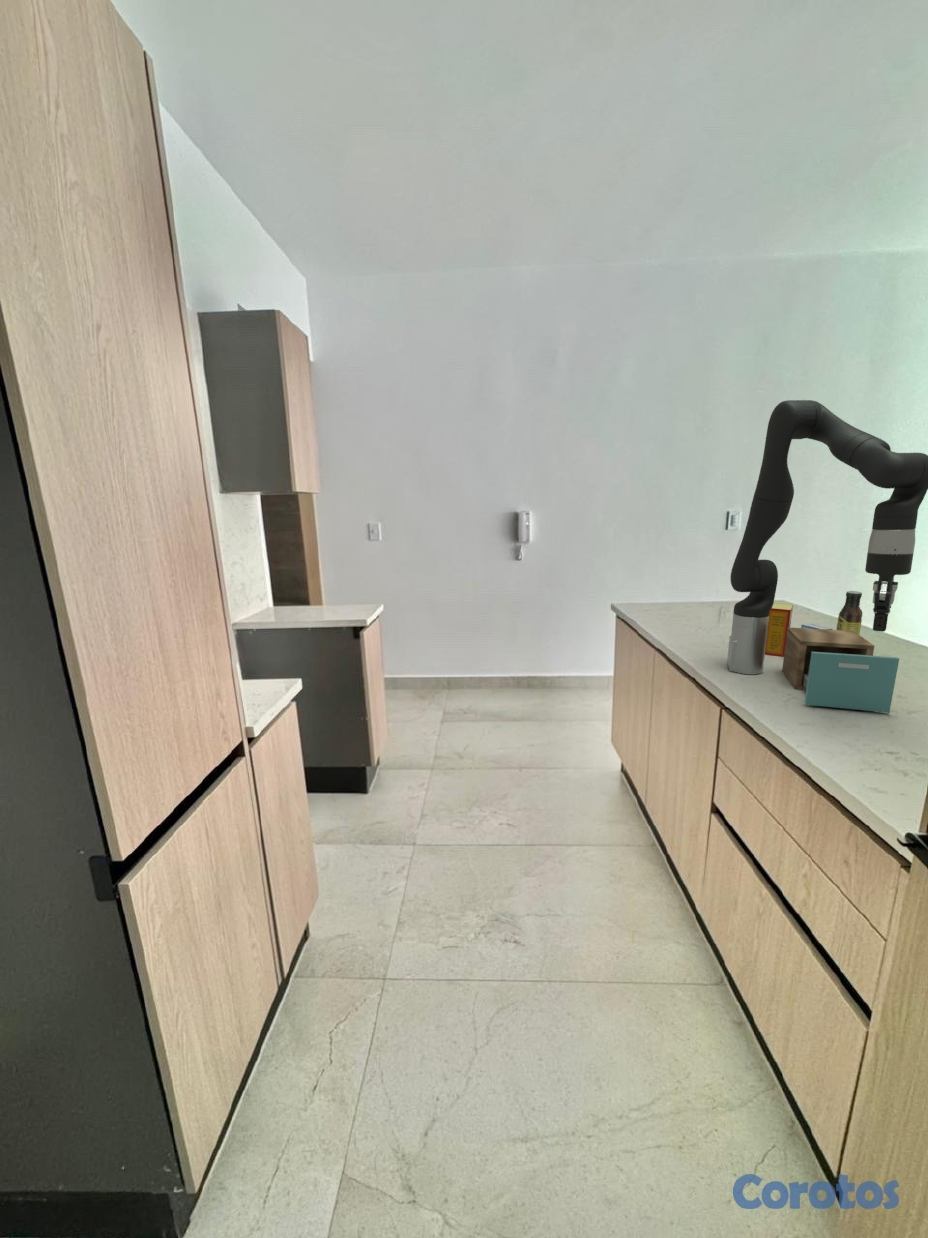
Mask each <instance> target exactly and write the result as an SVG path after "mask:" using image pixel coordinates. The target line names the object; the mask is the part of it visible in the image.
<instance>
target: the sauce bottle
mask: <svg viewBox="0 0 928 1238" xmlns="http://www.w3.org/2000/svg"><path fill="white" fill-rule="evenodd" d="M862 595H863V593H862V591H858V590H849V591H846V593H845V596H846V597H845V603H844V605H843V607H842V609H841V610H840V612H839V613H838V617H837V623H836V629H835V630H846V631H854V632H856V633H857V634H858V635H861V634H860V632H861V627H862V621H863V620H862V619H863V611H862V609H861V607H860V605H861V604H860V603H861V598H862Z"/></svg>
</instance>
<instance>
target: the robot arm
mask: <svg viewBox="0 0 928 1238" xmlns="http://www.w3.org/2000/svg"><path fill="white" fill-rule="evenodd" d="M803 439H809V440H813V441H816V442H820V443H823V444H824V445H826V446H827V448H828V450H829V451H830V453H831V455H832V456H834V458H836V459H837V460H839V461H840V462H841V463H843V464H845V465H847V466H849V467H851V468H853V469H855V470H856V471H858V472H859V473H860V475H861V476H863V478H864V479H865V480H866V481H867V482H868V483H870V484H871V485H873V486H876V487H878V488H882V489H893V491H892V493H891V496H890V497H889V499H887V500H885V501H881V502H879V503H878V504H877V505H876V506H875V508H874V513H873V519H872V526H871V533H870V536H869V539H868V546H867V554H866V563H865V568H864V569H865V573H868V574H871V575H872V574H873V575H878V580H874V581H873V584H872V585H873V586H872V591H873V597H872V603H873V604H874V605H873V608H872V611H873V614H874V616H873V617H874V618H873V625H872V630H873V631H875V632H886V631H887V625H888V620H889V618H888V617H889V614H890V613H891V609H892V605H893V604H894V601H895V597H896V591H897V590H898V586H899V581H895V576H905V575H909V574H911V572H912V568H913V567H912V566H913V559H914V552H915V546H916V528H917V521H918V515H919V514H918V512H919V509H920V506H921V504H922V502H923V501H924V500H925V499H924V498H925V496H926V494H927V492H928V454H926V453H924V452H895V451H892V449H891V446H890V444H889V443H888V442H886V441H885V440H883V439H881V437H880V438H879V437H877V436H875V435H872V434H871V433H869V432H867V431H863V430H861V429H859V428H857V427H855V426H853V425H851V424H849V423H848V422H847V421H845V420H843V419H842V418H840V417H839V416H838V415H836V414H835V413H834V412H832V411H831V410H830V409H828V408H827V407H826V406H825V405H824V404H822V403H820V402H818V401H816V400H810V399H809V400H807V399H806V400H805V399H799V400H797V399H792V400H791V399H790V400H783V401H781V402H778V404H777V405H776V406H775V407H774V408H773V410H772V412H771V414H770V417H769V421H768V423H767V429H766V435H765V443H764V449H763V455H762V462H761V465H760V466H761V467H760V471H759V475H758V478H757V479H758V480H757V483H756V487H755V491H754V494H753V497H752V501H751V505H750V508H749V514H748V519H747V522H746V526H745V530H744V533H743V536H742V540H741V542H740V545H739V548H738V550H737V553H736V556H735V559H734V562H733V565H732V568H731V572H730V584H731V587H732V589H733V590H734V591H735V592H737V593H748V595H747V596H746V597H745V598H743V599H742V600H740V601H737V602H736V603H734V605H733V613H732V622H731V624H732V625H731V632H730V633H731V634H730V635H729V641H728V650H727V651H728V652H727V660H726V666H727V668H728V671H729V672H734V673H739V674H744V675H760V674H762V673H763V671H764V667H765V666H764V665H765V663H764V662H765V657H766V655H765V647H766V639H767V630H768V621H769V614H770V610H771V608H772V606H773V603H775V602H774V601H775V597H776V592H777V591H776V590H777V586H778V580H779V579H778V578H779V572H778V567H777V565H776V564H775V563H774V561H772V560H770V559H760V555H761V553H762V551H763V548H764V546H766V544H767V543H768V541H769V540H770V539H771V538H772V537H773V536H774V535H775V534H776V532H778V530H779V529H780V528H781V527H782V526H783V524H784V523H785V521H786V520H787V518H788V516H789V513H790V509H791V507H792V503H793V500H794V495H795V488H794V483H793V479H792V476H791V473H790V470H789V466H788V464H789V463H788V456H789V452H790V448H791V447H790V446H791V444H792V440H803Z"/></svg>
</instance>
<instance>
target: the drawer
mask: <svg viewBox="0 0 928 1238" xmlns="http://www.w3.org/2000/svg"><path fill="white" fill-rule="evenodd" d="M899 663H900V657H896V656H886V655H885V656H883V655H882V656H881V655H873V656H870V655H855V654H840V653H824V652H811V659H810V666H809V674H803V677H802V684H803V686H804V687H805V688H806V690H805V696H804V697H805V698H804V704H805V705H808V706H816V707H817V706H818V707H828V708H836V709H837V708H839V709H847V710H848V709H849V710H857V711H859V710H860V711H871V712H877V713H878V712H879V713H890V712H891V706H892V701H893V695H894V690H895V684H896V681H897V680H896V678H897V674H898V668H899Z"/></svg>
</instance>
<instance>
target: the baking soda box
mask: <svg viewBox="0 0 928 1238" xmlns="http://www.w3.org/2000/svg"><path fill="white" fill-rule="evenodd" d="M793 608H794V604H790V603H789V604H787V603H777V602H774V603H773V606H772V608H771V610H770V614H769V621H768V630H767V639H766V647H765V656H771V657H772V656H773V657H780V658H784V651H785V643H786V636H787V628H788V627H789V628H791V626H792V625H791V624H792V617H793Z"/></svg>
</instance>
